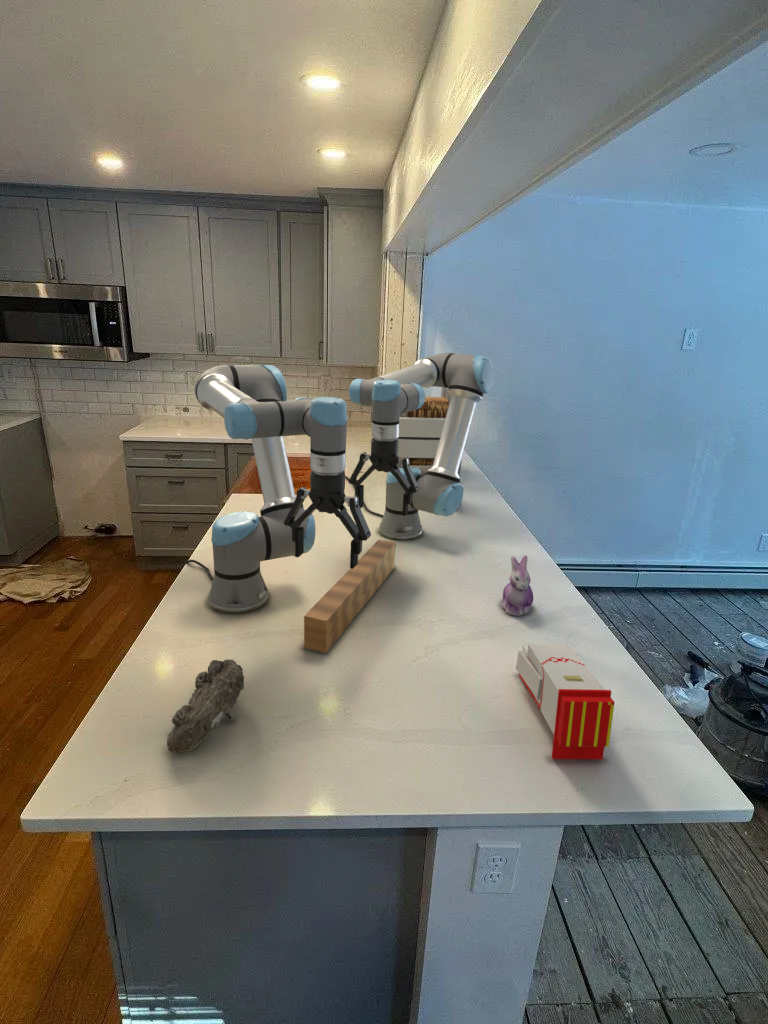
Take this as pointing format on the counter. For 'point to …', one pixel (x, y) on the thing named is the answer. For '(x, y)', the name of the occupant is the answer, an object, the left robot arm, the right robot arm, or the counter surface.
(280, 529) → the left robot arm
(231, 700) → the fossil
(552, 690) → the toy
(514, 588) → the figurine
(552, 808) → the counter surface
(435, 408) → the firewood crate
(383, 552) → the beam
